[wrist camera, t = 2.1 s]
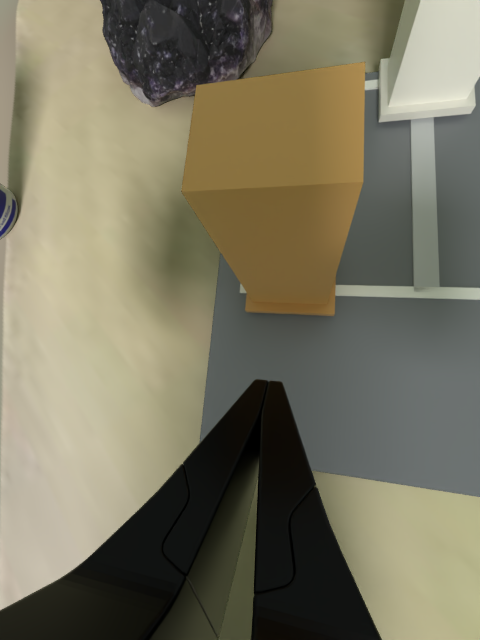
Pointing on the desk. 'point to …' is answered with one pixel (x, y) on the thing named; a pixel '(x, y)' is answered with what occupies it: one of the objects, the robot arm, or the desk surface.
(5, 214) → the energy drink
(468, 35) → the cream fader
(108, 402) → the desk surface
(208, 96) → the block
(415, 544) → the desk surface
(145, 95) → the crystal cluster
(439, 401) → the grey marked board
